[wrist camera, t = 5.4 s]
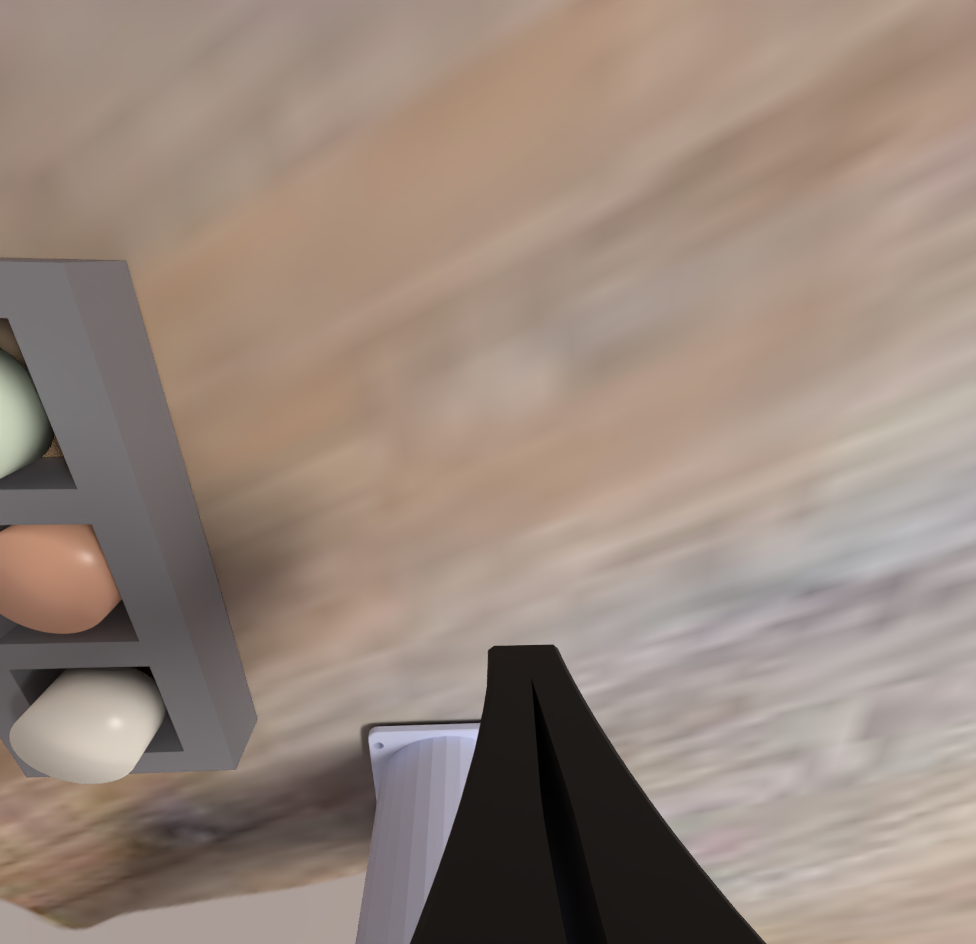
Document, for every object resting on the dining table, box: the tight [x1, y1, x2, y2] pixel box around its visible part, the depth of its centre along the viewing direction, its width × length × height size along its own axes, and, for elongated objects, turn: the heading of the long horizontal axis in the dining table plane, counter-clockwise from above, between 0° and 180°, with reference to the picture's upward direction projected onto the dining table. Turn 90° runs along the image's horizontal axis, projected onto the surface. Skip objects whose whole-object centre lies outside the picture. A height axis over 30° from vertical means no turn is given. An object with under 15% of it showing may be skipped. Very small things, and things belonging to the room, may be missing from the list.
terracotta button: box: [0, 524, 122, 634], centre depth 17 cm, size 4×4×2 cm
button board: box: [0, 258, 257, 777], centre depth 17 cm, size 21×9×2 cm, turn 179°
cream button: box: [9, 667, 168, 784], centre depth 19 cm, size 4×4×2 cm
